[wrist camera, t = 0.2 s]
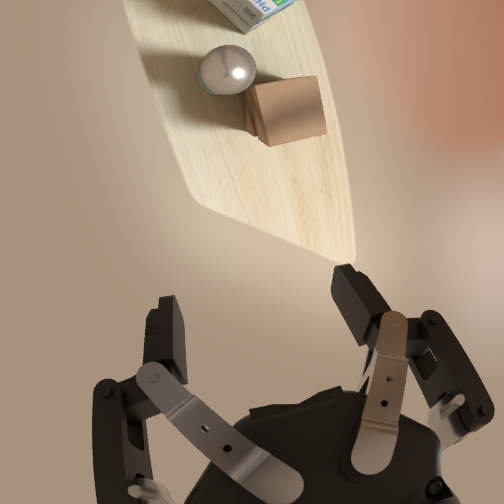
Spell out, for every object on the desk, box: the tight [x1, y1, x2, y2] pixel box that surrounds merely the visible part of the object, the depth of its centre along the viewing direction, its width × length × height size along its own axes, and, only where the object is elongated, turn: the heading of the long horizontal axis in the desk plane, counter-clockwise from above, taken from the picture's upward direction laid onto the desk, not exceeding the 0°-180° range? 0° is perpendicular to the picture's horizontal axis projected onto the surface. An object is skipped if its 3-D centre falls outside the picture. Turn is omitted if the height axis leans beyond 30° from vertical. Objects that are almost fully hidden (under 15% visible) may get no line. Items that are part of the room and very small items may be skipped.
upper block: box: [246, 76, 327, 147], centre depth 28 cm, size 7×7×5 cm
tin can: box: [198, 45, 256, 95], centre depth 26 cm, size 5×5×11 cm
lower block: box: [242, 81, 273, 137], centre depth 32 cm, size 7×7×5 cm
